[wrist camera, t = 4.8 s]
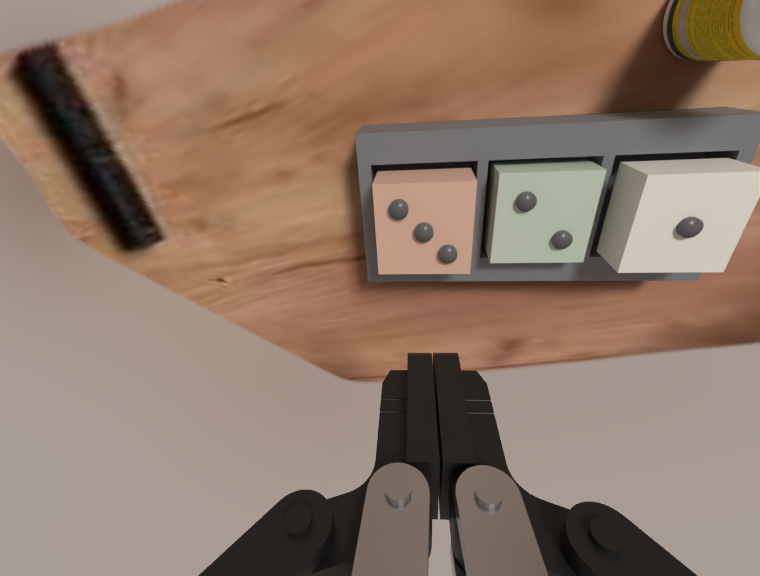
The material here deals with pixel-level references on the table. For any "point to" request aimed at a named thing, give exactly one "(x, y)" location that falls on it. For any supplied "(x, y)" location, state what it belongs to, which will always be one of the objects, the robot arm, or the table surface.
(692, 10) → the supplement bottle
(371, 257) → the well board
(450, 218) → the tile three
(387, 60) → the table surface
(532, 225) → the tile two
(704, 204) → the tile one
